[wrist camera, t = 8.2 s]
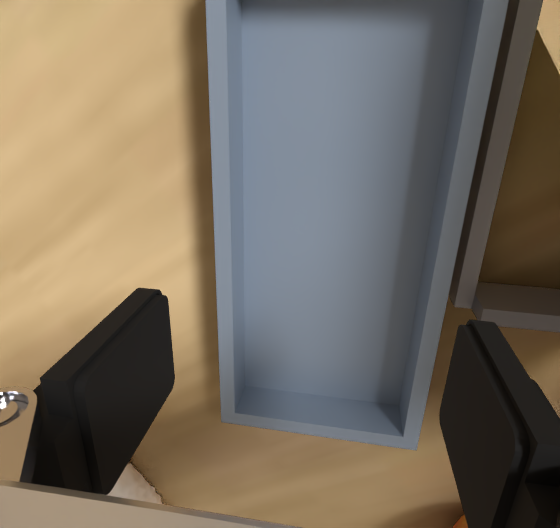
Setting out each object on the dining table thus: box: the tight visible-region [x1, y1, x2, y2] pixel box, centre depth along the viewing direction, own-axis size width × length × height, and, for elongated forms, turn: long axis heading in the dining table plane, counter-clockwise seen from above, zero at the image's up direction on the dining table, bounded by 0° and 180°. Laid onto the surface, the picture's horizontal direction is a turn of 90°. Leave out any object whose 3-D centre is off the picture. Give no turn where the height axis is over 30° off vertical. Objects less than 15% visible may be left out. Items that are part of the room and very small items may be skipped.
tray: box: [205, 0, 509, 450], centre depth 20 cm, size 11×23×3 cm, turn 179°
